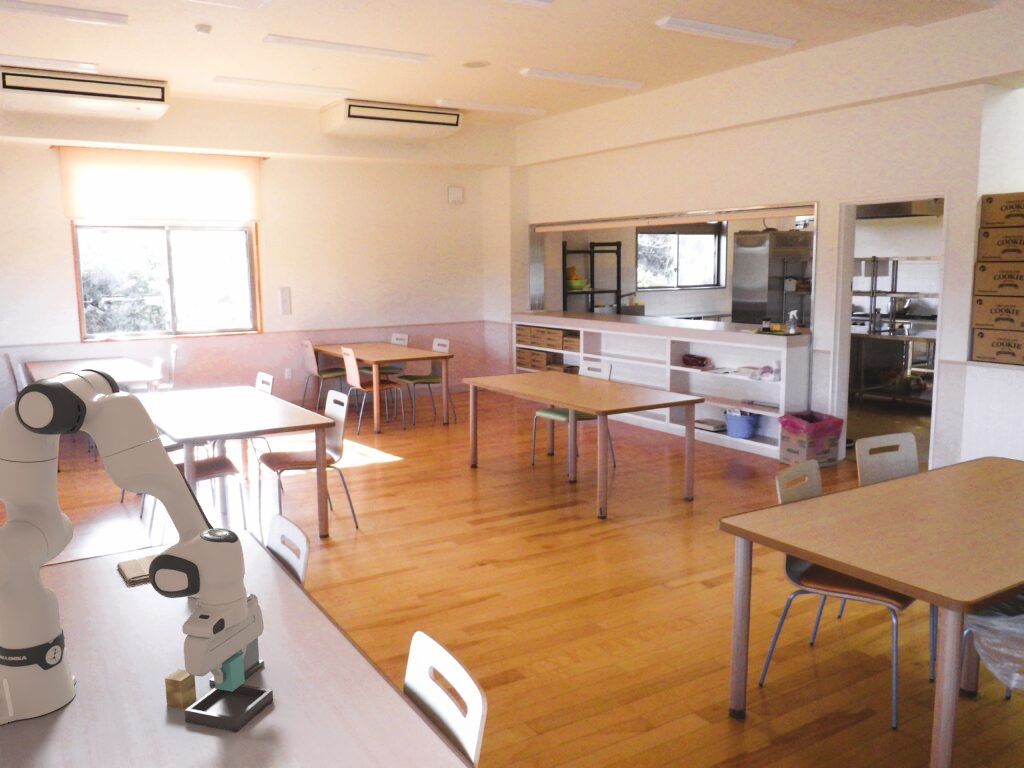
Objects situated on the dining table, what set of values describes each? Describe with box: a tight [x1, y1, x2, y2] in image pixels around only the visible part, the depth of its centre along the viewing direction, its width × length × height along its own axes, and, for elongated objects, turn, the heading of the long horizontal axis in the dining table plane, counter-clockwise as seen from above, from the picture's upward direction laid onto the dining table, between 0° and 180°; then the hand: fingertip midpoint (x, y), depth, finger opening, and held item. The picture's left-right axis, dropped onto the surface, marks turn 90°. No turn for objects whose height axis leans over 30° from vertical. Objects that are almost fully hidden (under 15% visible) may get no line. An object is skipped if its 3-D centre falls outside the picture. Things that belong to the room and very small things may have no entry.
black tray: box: [184, 683, 274, 733], centre depth 167 cm, size 12×12×2 cm
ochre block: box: [164, 668, 197, 709], centre depth 170 cm, size 4×4×6 cm
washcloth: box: [116, 553, 160, 586], centre depth 243 cm, size 12×18×3 cm, turn 36°
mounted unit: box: [208, 637, 265, 687], centre depth 181 cm, size 6×11×14 cm, turn 161°
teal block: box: [214, 653, 246, 691], centre depth 166 cm, size 4×4×6 cm
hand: (229, 675), depth 166 cm, fingers closed on teal block, 4 cm apart
